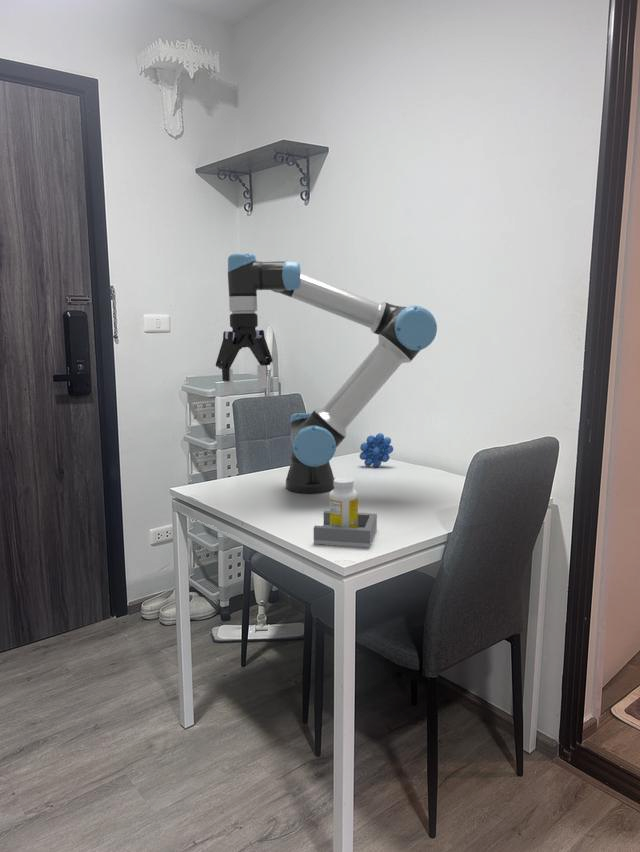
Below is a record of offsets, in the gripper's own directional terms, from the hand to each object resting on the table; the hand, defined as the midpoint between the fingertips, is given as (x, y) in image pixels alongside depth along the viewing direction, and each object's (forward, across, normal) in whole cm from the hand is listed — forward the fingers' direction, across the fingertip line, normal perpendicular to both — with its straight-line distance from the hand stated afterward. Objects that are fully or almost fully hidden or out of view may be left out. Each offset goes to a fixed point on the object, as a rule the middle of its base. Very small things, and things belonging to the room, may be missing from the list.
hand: (246, 390), depth 178 cm
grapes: (+32, -57, +7) cm, 66 cm away
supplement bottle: (+31, +9, +39) cm, 50 cm away
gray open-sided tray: (+32, +9, +39) cm, 51 cm away
